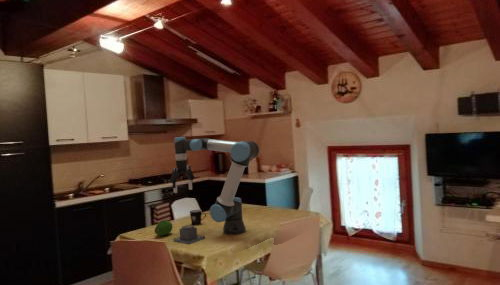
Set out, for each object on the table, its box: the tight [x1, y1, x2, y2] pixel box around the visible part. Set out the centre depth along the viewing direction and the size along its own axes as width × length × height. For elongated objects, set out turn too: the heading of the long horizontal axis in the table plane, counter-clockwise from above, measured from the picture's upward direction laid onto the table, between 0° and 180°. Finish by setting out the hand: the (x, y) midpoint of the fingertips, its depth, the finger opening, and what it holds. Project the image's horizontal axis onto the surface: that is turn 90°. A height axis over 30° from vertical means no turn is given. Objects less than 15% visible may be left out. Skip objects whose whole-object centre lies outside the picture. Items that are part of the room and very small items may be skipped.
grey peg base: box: [172, 234, 206, 245], centre depth 241 cm, size 14×14×6 cm
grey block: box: [178, 224, 198, 240], centre depth 240 cm, size 8×8×7 cm
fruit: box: [154, 219, 173, 236], centre depth 254 cm, size 15×10×10 cm, turn 157°
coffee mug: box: [189, 209, 207, 226], centre depth 280 cm, size 12×9×10 cm
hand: (183, 191), depth 256 cm, fingers open, 13 cm apart
